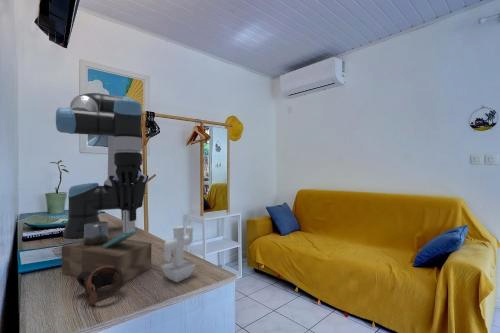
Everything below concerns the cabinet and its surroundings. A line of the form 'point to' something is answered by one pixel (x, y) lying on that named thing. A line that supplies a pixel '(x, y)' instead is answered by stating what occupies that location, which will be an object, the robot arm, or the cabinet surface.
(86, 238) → the pin
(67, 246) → the block
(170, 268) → the figurine
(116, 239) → the latch
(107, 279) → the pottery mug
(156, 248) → the cabinet surface
